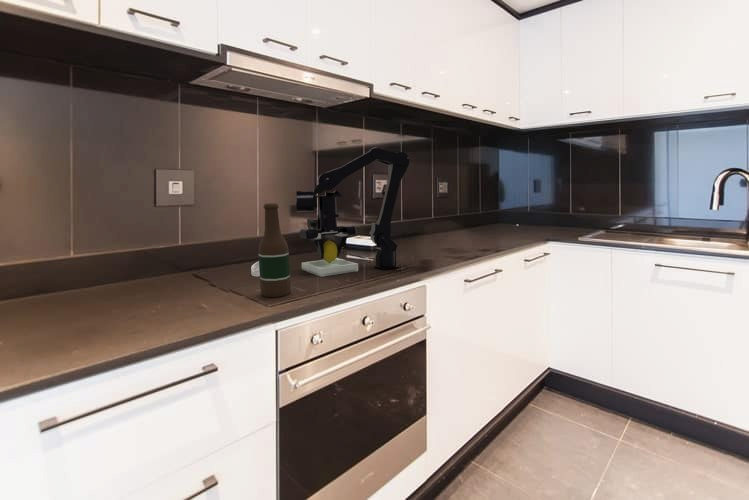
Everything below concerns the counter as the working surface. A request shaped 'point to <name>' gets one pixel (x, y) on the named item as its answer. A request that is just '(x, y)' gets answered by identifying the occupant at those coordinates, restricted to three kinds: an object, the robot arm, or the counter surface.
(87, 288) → the counter surface
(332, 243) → the lemon
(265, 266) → the beer bottle
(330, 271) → the tray
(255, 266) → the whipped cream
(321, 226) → the robot arm
